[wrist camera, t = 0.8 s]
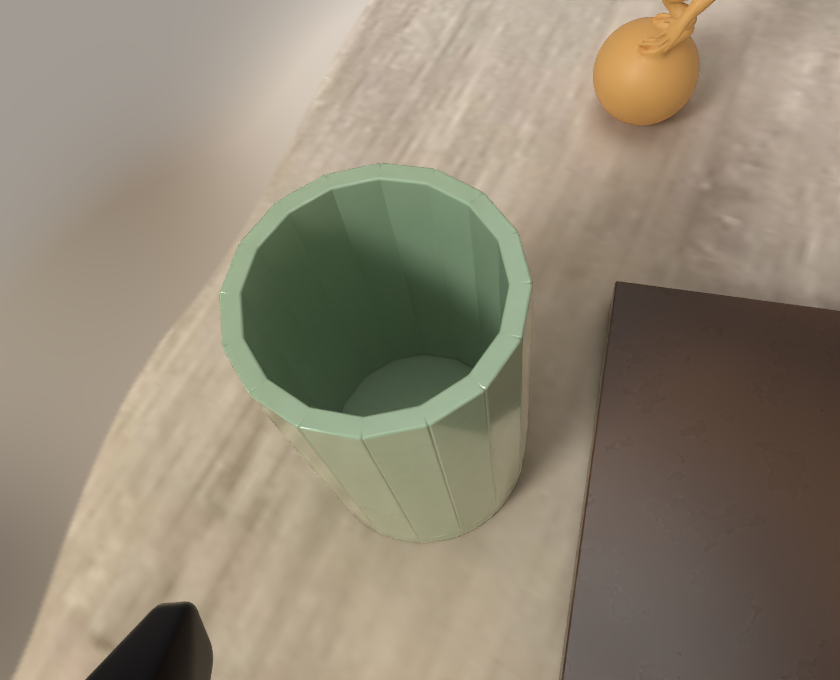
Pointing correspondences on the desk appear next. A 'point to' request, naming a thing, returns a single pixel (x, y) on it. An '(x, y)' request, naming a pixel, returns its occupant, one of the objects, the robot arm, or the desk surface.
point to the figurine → (650, 65)
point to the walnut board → (710, 494)
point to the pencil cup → (389, 343)
